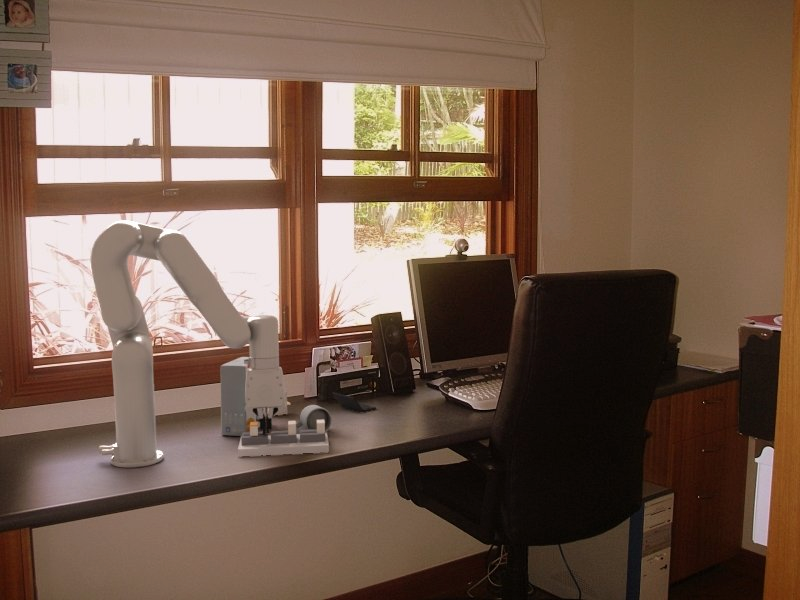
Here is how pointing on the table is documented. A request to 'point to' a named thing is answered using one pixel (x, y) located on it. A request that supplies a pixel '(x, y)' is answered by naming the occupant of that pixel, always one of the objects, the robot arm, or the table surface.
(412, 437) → the table surface
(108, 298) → the robot arm
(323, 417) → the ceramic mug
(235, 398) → the hard drive box
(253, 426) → the breaker handle
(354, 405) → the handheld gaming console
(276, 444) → the white slotted rack
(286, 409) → the architectural model
